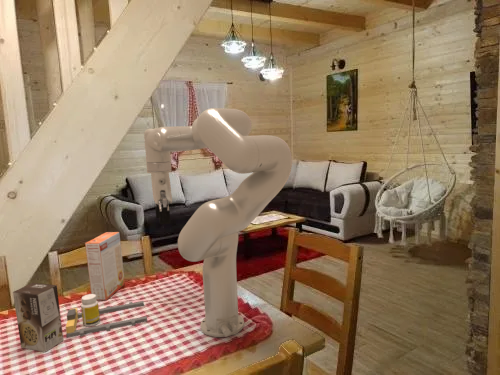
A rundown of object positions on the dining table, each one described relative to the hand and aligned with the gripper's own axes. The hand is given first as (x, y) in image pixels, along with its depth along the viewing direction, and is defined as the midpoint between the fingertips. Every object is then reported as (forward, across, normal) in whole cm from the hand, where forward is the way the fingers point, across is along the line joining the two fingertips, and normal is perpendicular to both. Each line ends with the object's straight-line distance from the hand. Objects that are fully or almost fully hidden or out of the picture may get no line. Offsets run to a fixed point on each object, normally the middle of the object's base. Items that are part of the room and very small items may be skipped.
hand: (163, 220), depth 119 cm
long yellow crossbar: (+28, -3, +29) cm, 41 cm away
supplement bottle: (+28, -3, +24) cm, 37 cm away
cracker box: (+28, +19, +19) cm, 39 cm away
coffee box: (+28, -10, +36) cm, 47 cm away
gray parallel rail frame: (+28, -3, +19) cm, 34 cm away
